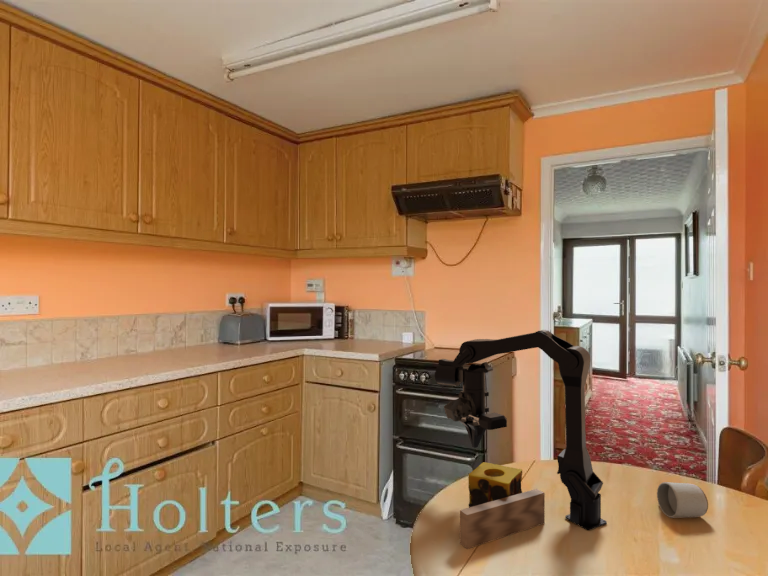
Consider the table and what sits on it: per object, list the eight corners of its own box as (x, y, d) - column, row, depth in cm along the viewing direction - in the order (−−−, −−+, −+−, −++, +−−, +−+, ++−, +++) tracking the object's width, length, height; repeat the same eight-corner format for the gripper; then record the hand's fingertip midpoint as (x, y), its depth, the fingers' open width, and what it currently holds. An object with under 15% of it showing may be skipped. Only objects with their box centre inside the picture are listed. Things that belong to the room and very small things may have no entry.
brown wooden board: (536, 518, 110) (536, 488, 110) (544, 523, 108) (544, 492, 108) (459, 543, 100) (459, 510, 100) (467, 548, 98) (466, 515, 98)
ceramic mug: (711, 522, 108) (711, 488, 109) (677, 524, 108) (677, 490, 108) (678, 502, 119) (678, 471, 119) (647, 503, 118) (647, 472, 118)
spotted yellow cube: (524, 510, 115) (524, 469, 115) (510, 528, 106) (510, 484, 106) (483, 500, 120) (483, 460, 120) (467, 516, 112) (467, 474, 112)
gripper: (428, 385, 129) (429, 442, 129) (472, 398, 113) (473, 464, 113) (461, 380, 134) (462, 436, 134) (508, 393, 118) (508, 456, 118)
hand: (474, 447), depth 125 cm, fingers closed
